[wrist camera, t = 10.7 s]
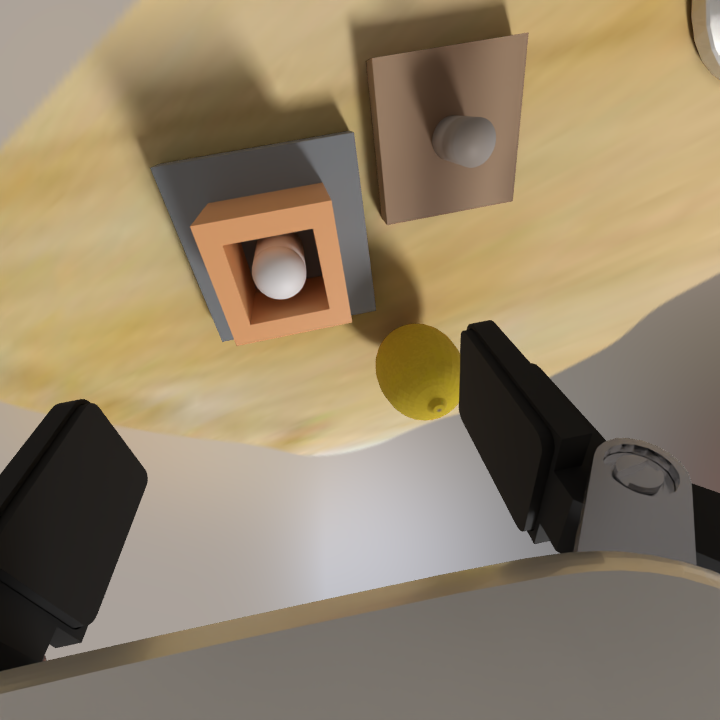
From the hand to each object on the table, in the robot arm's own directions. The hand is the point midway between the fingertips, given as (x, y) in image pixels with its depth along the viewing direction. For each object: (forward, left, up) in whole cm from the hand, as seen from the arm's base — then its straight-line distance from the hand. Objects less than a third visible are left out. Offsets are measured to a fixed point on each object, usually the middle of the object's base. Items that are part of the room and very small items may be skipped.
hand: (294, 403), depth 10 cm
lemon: (-6, +9, -16) cm, 19 cm away
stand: (-9, -4, -15) cm, 18 cm away
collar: (+1, 0, -14) cm, 14 cm away
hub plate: (+1, 0, -15) cm, 15 cm away
